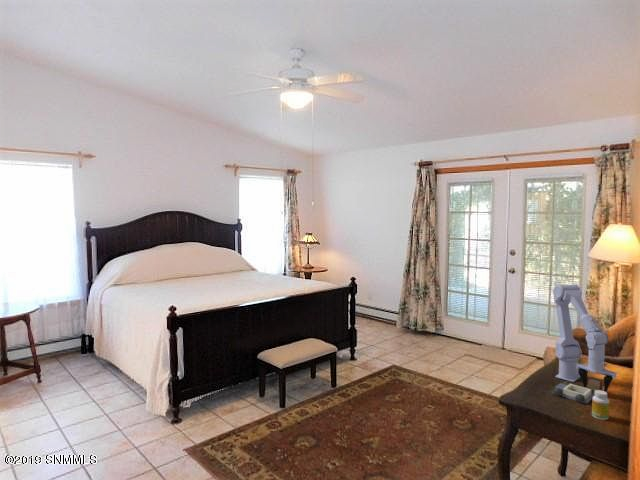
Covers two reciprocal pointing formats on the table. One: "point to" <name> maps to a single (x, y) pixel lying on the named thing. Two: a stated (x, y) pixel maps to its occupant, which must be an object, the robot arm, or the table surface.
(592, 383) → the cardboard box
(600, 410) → the supplement bottle
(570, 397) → the toy truck
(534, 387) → the table surface
